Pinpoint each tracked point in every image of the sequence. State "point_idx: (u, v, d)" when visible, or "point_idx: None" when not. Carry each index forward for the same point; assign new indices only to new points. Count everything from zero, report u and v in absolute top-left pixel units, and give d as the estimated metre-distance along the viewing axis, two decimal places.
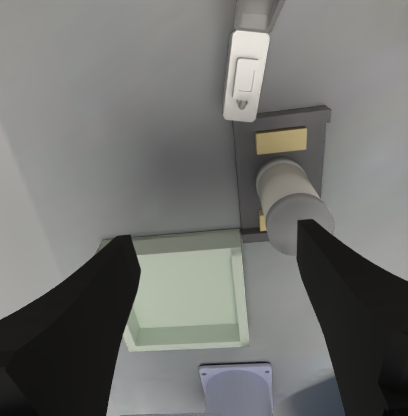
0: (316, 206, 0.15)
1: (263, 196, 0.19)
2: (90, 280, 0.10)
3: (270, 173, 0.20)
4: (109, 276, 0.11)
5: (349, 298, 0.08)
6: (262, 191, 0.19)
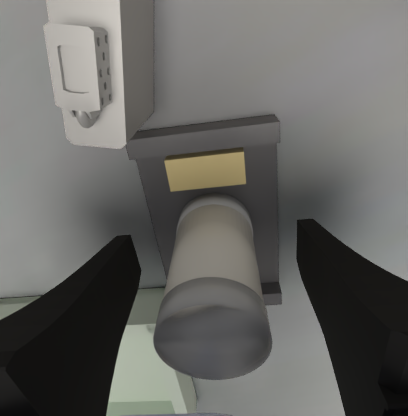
0: (233, 309, 0.08)
1: (170, 264, 0.11)
2: (90, 280, 0.10)
3: (187, 223, 0.12)
4: (109, 276, 0.11)
5: (349, 298, 0.08)
6: None
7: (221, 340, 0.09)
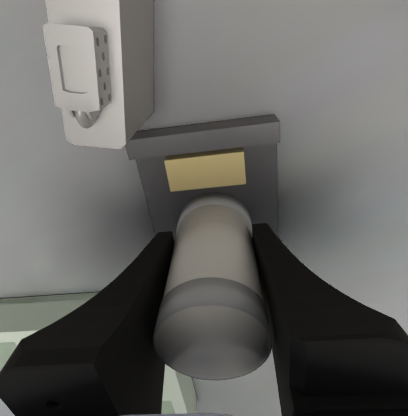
0: (233, 310, 0.08)
1: (170, 264, 0.11)
2: (145, 276, 0.09)
3: (187, 223, 0.12)
4: (159, 272, 0.11)
5: (275, 302, 0.08)
6: None
7: (221, 340, 0.09)
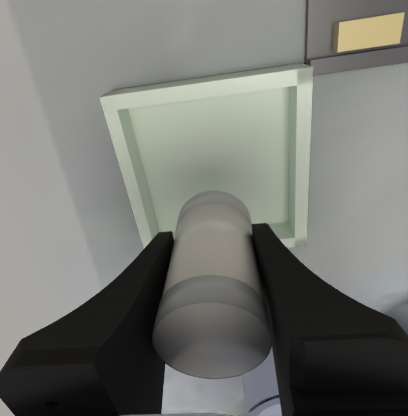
0: (235, 308, 0.08)
1: (170, 261, 0.11)
2: (145, 276, 0.09)
3: (188, 220, 0.12)
4: (159, 272, 0.11)
5: (275, 302, 0.08)
6: (172, 250, 0.12)
7: (221, 339, 0.09)
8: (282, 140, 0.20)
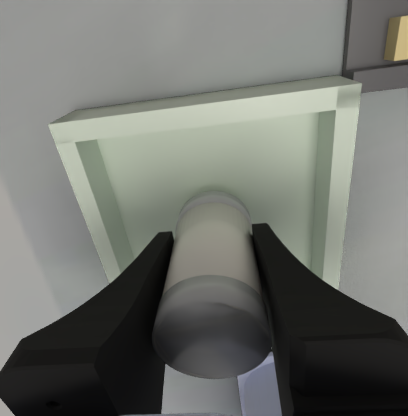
0: (235, 308, 0.08)
1: (170, 261, 0.11)
2: (145, 276, 0.09)
3: (188, 220, 0.12)
4: (159, 272, 0.11)
5: (275, 302, 0.08)
6: (172, 250, 0.12)
7: (221, 339, 0.09)
8: (306, 178, 0.14)
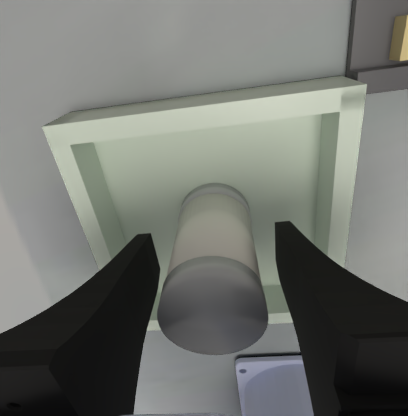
0: (234, 285, 0.09)
1: (173, 247, 0.12)
2: (117, 278, 0.10)
3: (190, 209, 0.13)
4: (133, 274, 0.11)
5: (312, 300, 0.08)
6: (175, 237, 0.12)
7: (221, 315, 0.09)
8: (308, 181, 0.14)
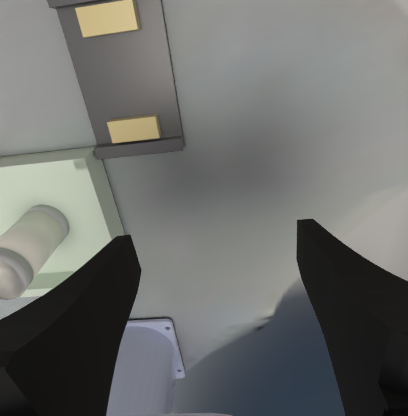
0: None
1: None
2: (90, 280, 0.10)
3: None
4: (109, 276, 0.11)
5: (349, 298, 0.08)
6: None
7: None
8: None
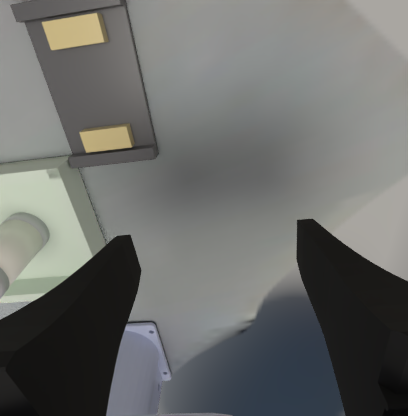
0: None
1: None
2: (90, 280, 0.10)
3: None
4: (109, 276, 0.11)
5: (349, 298, 0.08)
6: None
7: None
8: None
